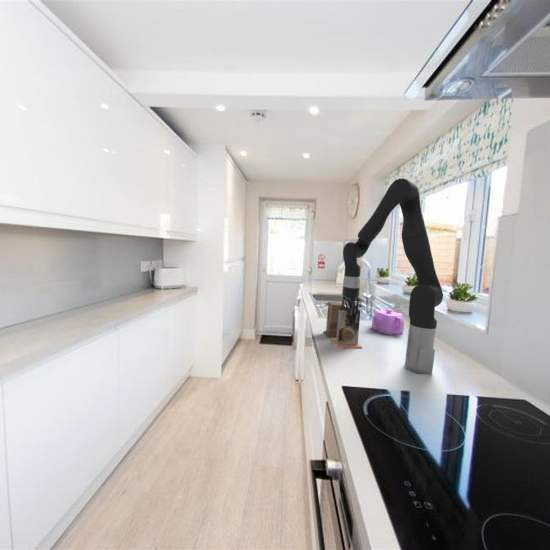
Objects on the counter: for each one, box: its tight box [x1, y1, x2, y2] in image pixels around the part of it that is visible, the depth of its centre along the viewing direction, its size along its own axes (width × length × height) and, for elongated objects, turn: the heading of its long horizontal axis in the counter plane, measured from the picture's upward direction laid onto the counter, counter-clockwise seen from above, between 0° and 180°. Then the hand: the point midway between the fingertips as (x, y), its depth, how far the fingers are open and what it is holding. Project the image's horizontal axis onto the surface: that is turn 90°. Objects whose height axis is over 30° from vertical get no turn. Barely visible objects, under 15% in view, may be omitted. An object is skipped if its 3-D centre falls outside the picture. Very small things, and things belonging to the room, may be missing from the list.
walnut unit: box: [323, 301, 342, 339], centre depth 153 cm, size 8×14×16 cm, turn 97°
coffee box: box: [336, 307, 361, 345], centre depth 140 cm, size 9×6×16 cm
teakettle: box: [371, 308, 405, 336], centre depth 168 cm, size 17×17×12 cm
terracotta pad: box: [330, 338, 363, 349], centre depth 141 cm, size 11×11×1 cm
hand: (348, 320), depth 140 cm, fingers open, 8 cm apart
